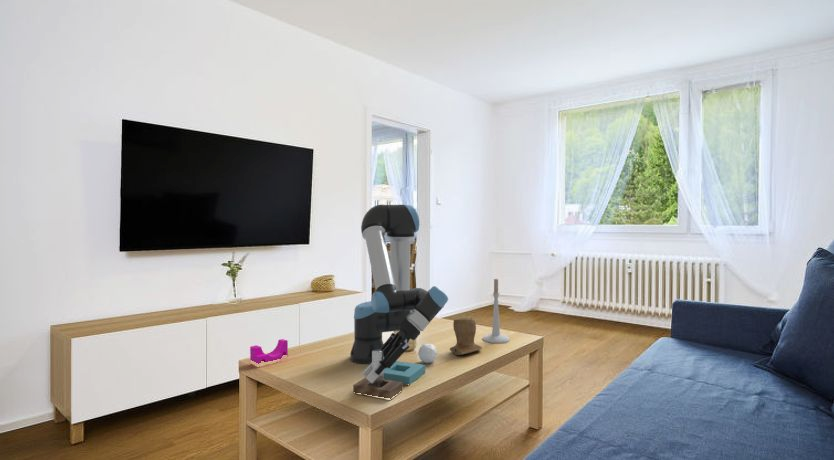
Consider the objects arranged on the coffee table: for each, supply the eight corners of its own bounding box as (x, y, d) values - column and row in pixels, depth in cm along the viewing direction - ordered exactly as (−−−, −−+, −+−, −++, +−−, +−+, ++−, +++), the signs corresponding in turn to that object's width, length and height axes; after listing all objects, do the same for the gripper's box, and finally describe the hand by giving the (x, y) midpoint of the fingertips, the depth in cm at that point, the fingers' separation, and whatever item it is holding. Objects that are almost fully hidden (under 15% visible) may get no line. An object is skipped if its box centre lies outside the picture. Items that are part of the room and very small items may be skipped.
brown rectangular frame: (353, 393, 150) (353, 384, 150) (367, 384, 159) (367, 376, 159) (390, 400, 145) (390, 391, 145) (402, 390, 153) (402, 382, 153)
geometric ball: (430, 367, 185) (440, 350, 187) (430, 366, 178) (440, 349, 180) (415, 357, 187) (425, 340, 189) (413, 355, 179) (424, 338, 181)
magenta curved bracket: (258, 368, 177) (258, 349, 177) (250, 365, 181) (250, 346, 181) (291, 359, 189) (291, 341, 189) (282, 356, 193) (282, 339, 193)
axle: (370, 393, 151) (369, 351, 150) (375, 389, 154) (375, 348, 154) (380, 395, 149) (380, 353, 149) (386, 391, 153) (386, 350, 152)
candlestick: (478, 341, 215) (478, 278, 215) (488, 335, 226) (488, 275, 225) (503, 344, 208) (503, 280, 208) (513, 338, 219) (513, 277, 219)
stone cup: (465, 345, 207) (465, 313, 207) (485, 351, 198) (485, 317, 198) (442, 352, 197) (442, 318, 197) (462, 358, 188) (462, 323, 188)
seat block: (374, 379, 164) (374, 371, 164) (392, 367, 176) (392, 360, 176) (409, 385, 158) (409, 376, 158) (425, 372, 171) (425, 365, 171)
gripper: (398, 313, 163) (353, 363, 157) (414, 323, 147) (365, 380, 141) (412, 326, 165) (368, 376, 159) (429, 337, 149) (381, 394, 143)
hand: (367, 378), depth 150 cm, fingers closed on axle, 4 cm apart
